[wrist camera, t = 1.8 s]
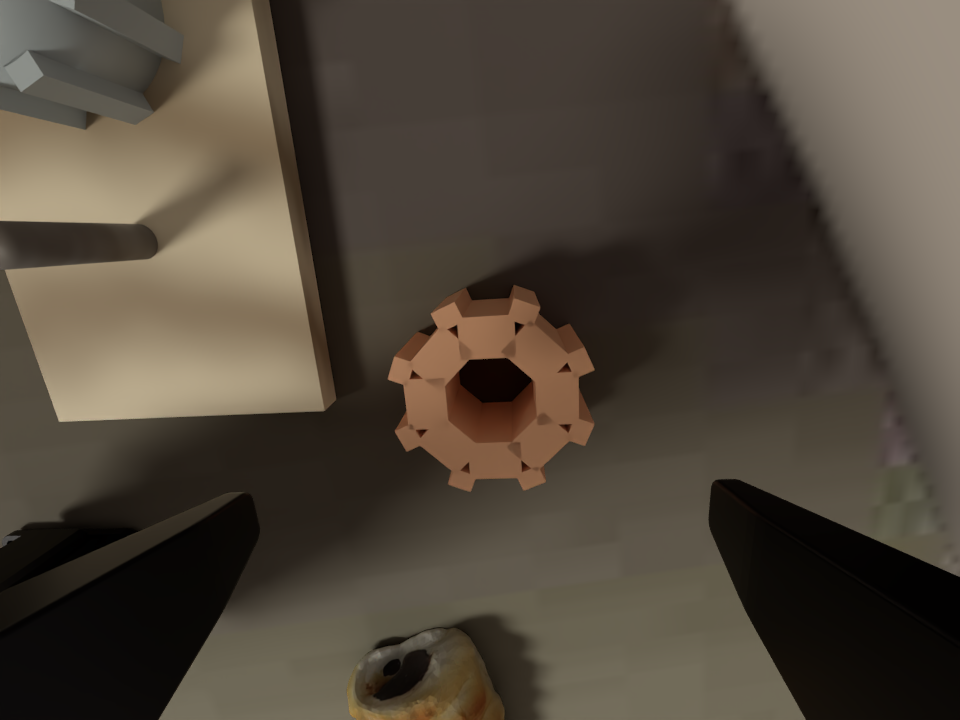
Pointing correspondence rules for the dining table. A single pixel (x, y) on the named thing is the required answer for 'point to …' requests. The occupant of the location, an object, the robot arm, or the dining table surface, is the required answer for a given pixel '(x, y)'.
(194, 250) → the gear board
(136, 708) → the robot arm
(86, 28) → the gear
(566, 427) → the gear
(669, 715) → the dining table surface
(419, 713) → the pastry
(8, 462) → the dining table surface
